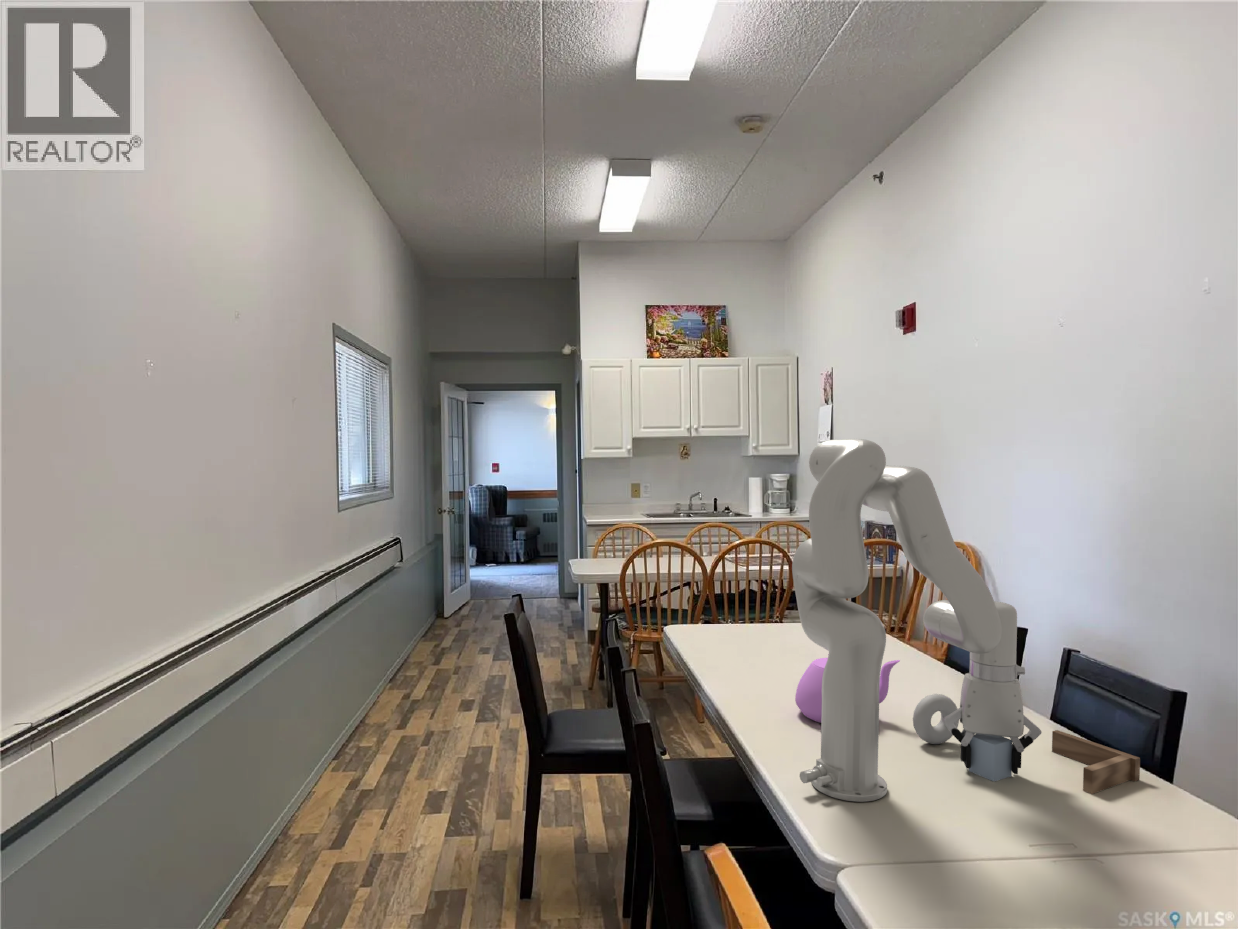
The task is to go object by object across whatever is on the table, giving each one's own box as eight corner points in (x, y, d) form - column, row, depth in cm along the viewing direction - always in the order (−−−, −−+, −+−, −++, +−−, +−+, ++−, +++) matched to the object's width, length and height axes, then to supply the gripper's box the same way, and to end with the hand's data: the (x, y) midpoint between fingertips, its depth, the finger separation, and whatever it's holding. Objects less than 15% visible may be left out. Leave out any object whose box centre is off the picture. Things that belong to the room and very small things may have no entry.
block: (993, 781, 134) (994, 745, 134) (968, 771, 139) (969, 735, 138) (1011, 776, 137) (1012, 740, 137) (986, 765, 141) (987, 731, 141)
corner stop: (1096, 796, 129) (1097, 772, 129) (1013, 763, 142) (1014, 742, 142) (1139, 780, 136) (1140, 757, 136) (1056, 750, 149) (1056, 730, 149)
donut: (919, 749, 148) (920, 698, 148) (908, 742, 152) (909, 693, 151) (962, 744, 151) (963, 694, 151) (950, 738, 154) (951, 689, 154)
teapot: (907, 741, 153) (908, 672, 152) (796, 731, 157) (797, 665, 157) (890, 705, 174) (892, 645, 174) (793, 697, 178) (794, 639, 178)
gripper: (1040, 669, 138) (1038, 766, 139) (938, 661, 143) (935, 754, 144) (1051, 681, 131) (1049, 783, 132) (943, 672, 136) (941, 770, 136)
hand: (990, 767), depth 138 cm, fingers closed on block, 7 cm apart
